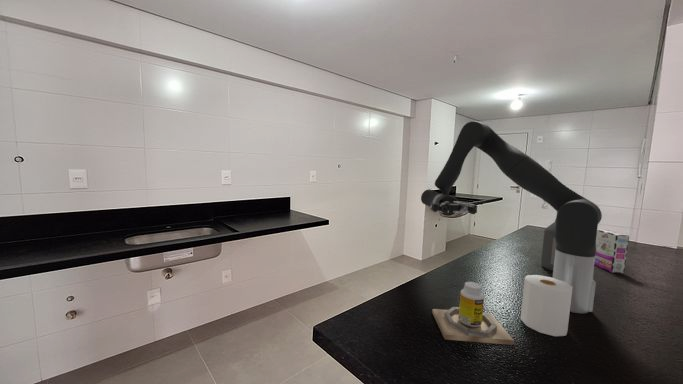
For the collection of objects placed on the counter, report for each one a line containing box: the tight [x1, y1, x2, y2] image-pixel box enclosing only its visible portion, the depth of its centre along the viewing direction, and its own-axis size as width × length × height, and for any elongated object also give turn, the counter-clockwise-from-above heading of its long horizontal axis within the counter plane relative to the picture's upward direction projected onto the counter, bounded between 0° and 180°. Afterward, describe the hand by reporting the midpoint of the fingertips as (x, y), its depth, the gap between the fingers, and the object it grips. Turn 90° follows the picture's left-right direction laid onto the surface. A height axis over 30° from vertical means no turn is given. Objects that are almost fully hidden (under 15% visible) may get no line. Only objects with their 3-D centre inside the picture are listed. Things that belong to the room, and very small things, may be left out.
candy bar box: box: [594, 228, 630, 274], centre depth 117 cm, size 11×5×16 cm, turn 172°
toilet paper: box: [520, 274, 573, 337], centre depth 72 cm, size 10×10×12 cm
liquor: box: [540, 211, 558, 272], centre depth 114 cm, size 9×9×30 cm
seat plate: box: [431, 306, 515, 346], centre depth 70 cm, size 16×12×2 cm
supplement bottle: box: [458, 281, 485, 327], centre depth 70 cm, size 6×6×10 cm
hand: (460, 210), depth 85 cm, fingers open, 8 cm apart
